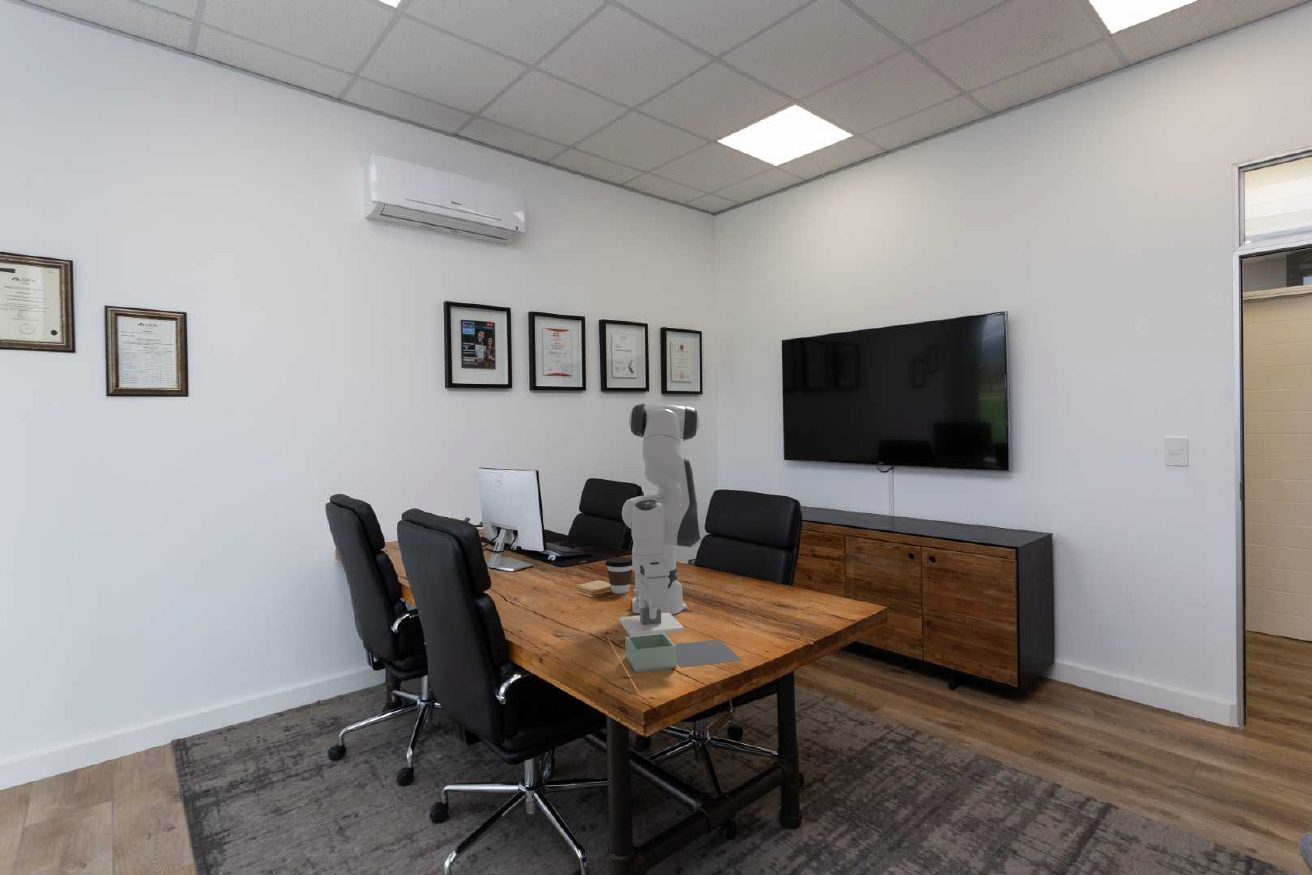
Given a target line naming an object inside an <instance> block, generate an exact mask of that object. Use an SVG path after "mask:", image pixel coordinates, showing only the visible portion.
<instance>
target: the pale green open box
mask: <svg viewBox="0 0 1312 875" xmlns="http://www.w3.org/2000/svg"><path fill="white" fill-rule="evenodd" d="M624 638H625V639H624V641H625V643H624V645H625V659H626V660H627V663H628V664H629V666H630V667H631V669H632V670H633V673H634V674H636V673H646V672H654V671H662V670H671V669H677V668H678V667H677V666H678V664H677V662H676V645H675V644H676V643H674V642H673V640H672V639H671V638H670V637H669V636H668V634H667V633H657V634H648V635H638V636H630V635H629V636H625V637H624Z"/></svg>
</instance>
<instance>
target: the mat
mask: <svg viewBox="0 0 1312 875" xmlns="http://www.w3.org/2000/svg"><path fill="white" fill-rule="evenodd" d="M674 644H675V645H676V662H677V666H679V668H686V667H687V668H688V667H696V666H697V667H698V666H705V665H715V664H721V663H730V662H738V661H740V662H741V661H743V659H742V658H741V657H739V655H737V654H736V653H735V652H734V651H733V650H732V649H731V648H729V647H728V645H726V643H724V642H723V641H722V640H721V639H711V640H704V641H703V640H702V641H692V642H685V643H674Z"/></svg>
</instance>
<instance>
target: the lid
mask: <svg viewBox="0 0 1312 875" xmlns="http://www.w3.org/2000/svg"><path fill="white" fill-rule="evenodd" d="M648 611H649V608H640V613H639V615H628V616H620V617H618V621H619V622H620V624H621V625H622V626H623V628H624V629H625V631H626V632H627V633H628V634H627V635H629V636H638V635H648V634H658V633H665V634H667V633H674V632H684V631H685V626H683V624H681V623H680V622H679V621H678V620H677V619H676V618H675V617H674V616H673V614H672V615H671V614H670V613H661V609H660V608H657V612H656V619H650V618H649V616H648V615H649V614H648Z"/></svg>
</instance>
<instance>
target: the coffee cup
mask: <svg viewBox="0 0 1312 875" xmlns="http://www.w3.org/2000/svg"><path fill="white" fill-rule="evenodd" d="M604 564H605V566H606V567H607V576H608V580H609V584H610V589H611V592H612V593H613V594H616V595H619V594H627V593H629V591H630V586H631V582H632V574H633V569H632V557H627V556H626V557H625V556H617V557H615V556H614V557H611V558H607V559H606V561H605V563H604Z"/></svg>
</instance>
